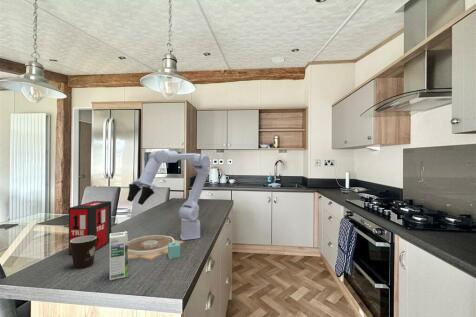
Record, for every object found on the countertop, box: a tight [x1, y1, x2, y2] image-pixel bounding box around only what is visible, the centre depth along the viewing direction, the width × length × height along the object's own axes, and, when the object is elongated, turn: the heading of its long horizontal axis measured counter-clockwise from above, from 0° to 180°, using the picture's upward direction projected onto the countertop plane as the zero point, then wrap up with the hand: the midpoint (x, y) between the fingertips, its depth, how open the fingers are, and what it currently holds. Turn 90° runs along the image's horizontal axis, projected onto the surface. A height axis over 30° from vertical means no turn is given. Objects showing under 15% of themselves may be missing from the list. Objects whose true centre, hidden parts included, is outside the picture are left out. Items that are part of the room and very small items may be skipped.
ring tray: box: [128, 234, 185, 261], centre depth 110 cm, size 30×30×2 cm
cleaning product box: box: [68, 200, 112, 256], centre depth 110 cm, size 16×9×20 cm, turn 178°
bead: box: [167, 242, 181, 260], centre depth 100 cm, size 4×4×5 cm
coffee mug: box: [70, 236, 99, 270], centre depth 93 cm, size 12×9×10 cm
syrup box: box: [108, 230, 129, 281], centre depth 83 cm, size 6×6×14 cm
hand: (134, 202), depth 103 cm, fingers open, 7 cm apart
